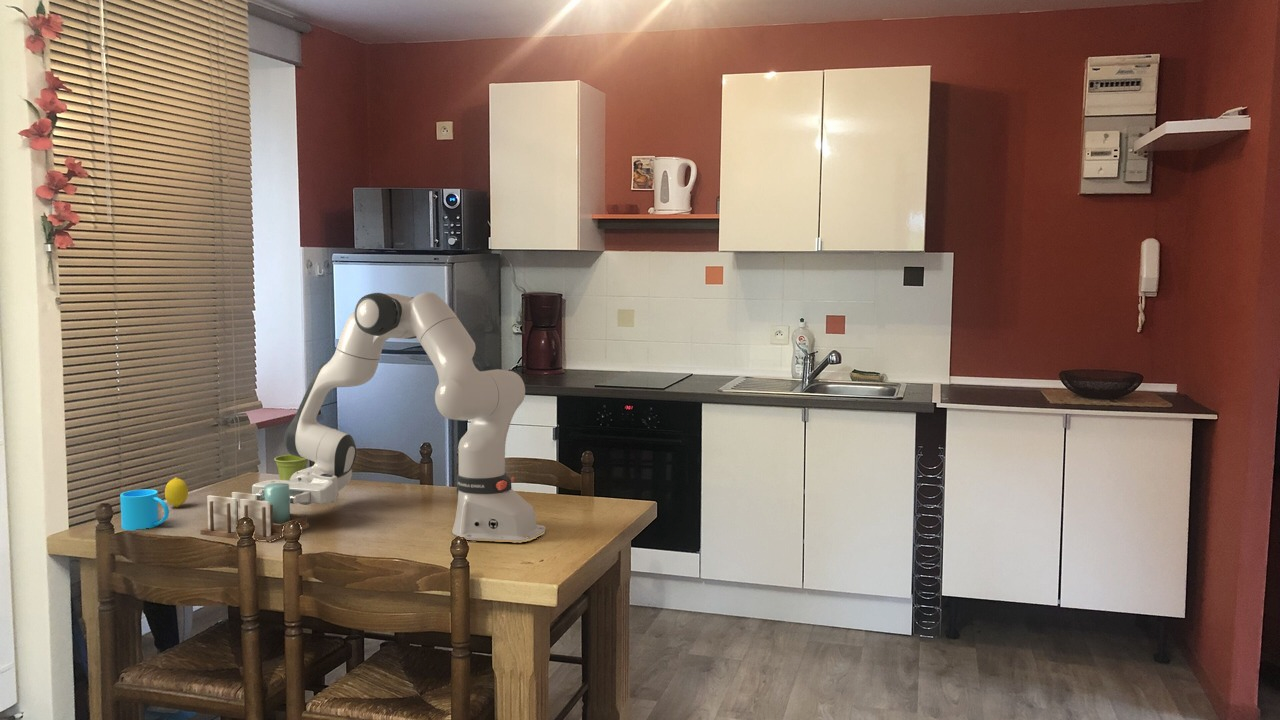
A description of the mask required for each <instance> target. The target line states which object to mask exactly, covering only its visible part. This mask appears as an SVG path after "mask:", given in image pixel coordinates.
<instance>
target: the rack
mask: <svg viewBox="0 0 1280 720" xmlns="http://www.w3.org/2000/svg"><path fill="white" fill-rule="evenodd" d="M206 501H207V503H206V505H207V527H205V528H202V529H200V530H199V531H200V535H206V536H213V537H222V538H230V539H237V540H239V539H238V536H237V533H236V525H237V522H238V520H239V519H241V518H243V517H249V518H251V519H252V520H253V522H254V524H255V534H254V538H255V540H257V539H258V540H266V541H272V540H274V539H277V538H280V536H281V539H283V538H282V529H283V526H284V525H285V524H286V523H287V522H285V523H282V524H275V523H273V505H270V502H266V501H265V500H263V501H257V500H255V494H252V493H246V492H238V491H233V492H231V497H227V496H218V495H217V496H216V495H209V494H208V495H207V496H206ZM290 521H297V522H298V523H300V525H301V527H302V529H303V530H305V529H308V528H309V527H310V526H309V523H308V517H307V515H306V514H298V513H291V512H290ZM288 522H289V521H288Z"/></svg>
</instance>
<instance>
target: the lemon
mask: <svg viewBox="0 0 1280 720" xmlns="http://www.w3.org/2000/svg"><path fill="white" fill-rule="evenodd" d="M188 495H189V489H188V484H187V483H186V482H185V481H184V480H183V479H181V478H178V477H176V476H175V477H174V478H172V479H170V480H169V481H168V482H167V484H166V485H165V488H164V497H165V500H166V502H167V503H168V504H170V505H172V506H173V507H175V508H179V507H180V506H181V505H183V504H184V503H185V502H187V499H188Z"/></svg>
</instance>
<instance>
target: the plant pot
mask: <svg viewBox="0 0 1280 720" xmlns="http://www.w3.org/2000/svg"><path fill="white" fill-rule="evenodd" d="M274 461H275V464H276V466H277V471H278V475H279V480H290V478H291V476H292V475H293V474H294V473H295V472H297V471H300V470H303V469H306V468H307V464H308V461H309V460H308V459H306V458H301V457H298V456H294V455H291V454H284V455H279V456H276V457H274Z"/></svg>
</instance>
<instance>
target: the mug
mask: <svg viewBox="0 0 1280 720" xmlns="http://www.w3.org/2000/svg"><path fill="white" fill-rule="evenodd" d="M119 496H120V519H121V523H120V524H121V529H122V530H124V531H137V530H136V529H144V530H147V529H146V528H149V529H153V528H155V527H158V526H159V525H161V524H163V523H164V522H166V521H167V519H168V518H169V514H170V510H169V506H168V505H167V503H166V501H164V500H163V499H162V498H160V497H159V493H158V490H156V489H147V488H146V489H134V490H128V491H124V492H121V493H120V495H119ZM159 504H160V505H161V507H162V509H163V511H164V512H163V517H162V518H161V519H160V518H159V517H160V516H159Z"/></svg>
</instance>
